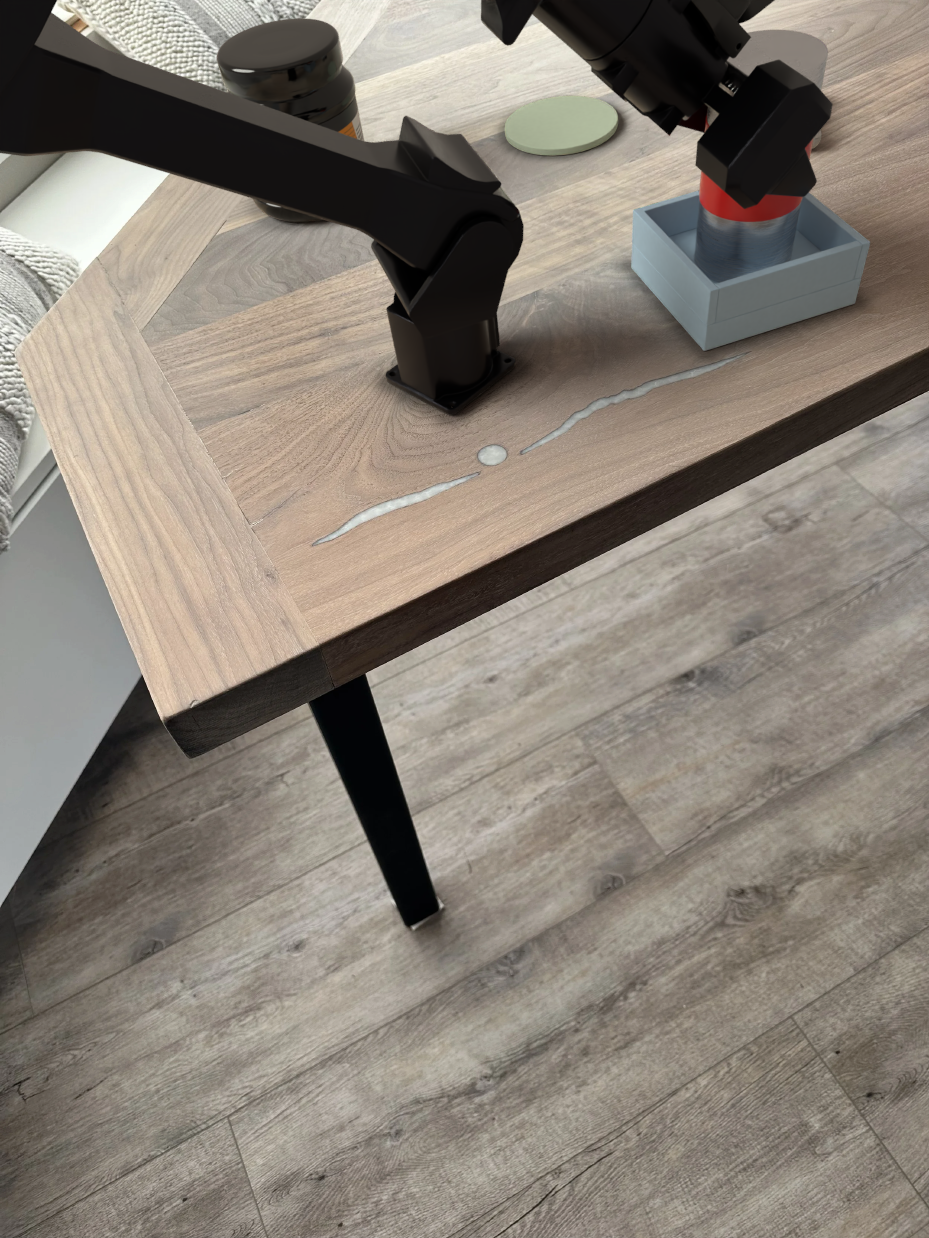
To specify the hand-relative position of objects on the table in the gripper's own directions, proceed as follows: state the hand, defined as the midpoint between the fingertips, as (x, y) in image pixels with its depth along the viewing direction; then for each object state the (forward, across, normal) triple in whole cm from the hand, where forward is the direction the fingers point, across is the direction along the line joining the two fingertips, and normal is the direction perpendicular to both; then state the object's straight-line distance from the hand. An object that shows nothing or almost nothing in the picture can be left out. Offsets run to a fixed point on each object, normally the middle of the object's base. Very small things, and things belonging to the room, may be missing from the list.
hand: (774, 160), depth 58 cm
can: (+4, 0, +6) cm, 7 cm away
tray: (+5, 0, +7) cm, 9 cm away
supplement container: (-12, +29, +24) cm, 40 cm away
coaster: (+4, +29, +8) cm, 30 cm away
